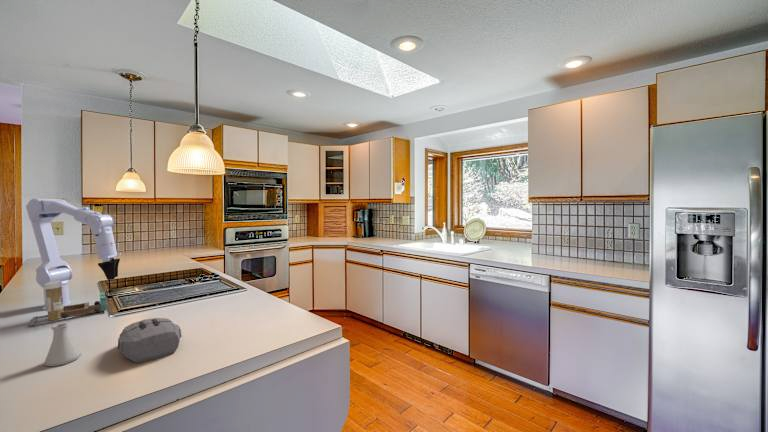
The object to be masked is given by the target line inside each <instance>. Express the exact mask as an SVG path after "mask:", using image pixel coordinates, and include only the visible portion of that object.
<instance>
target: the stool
mask: <svg viewBox="0 0 768 432" xmlns="http://www.w3.org/2000/svg"><path fill="white" fill-rule="evenodd" d="M63 310H64V312H60V317H61V318H60V319H66V318H72V317H77V316H83V315H88V314H93V313H99V312H101V311H104V312H105V311H107V301H106V292H100V293H99V301H98V300H97V301H95V302H94V303H93V304H92V305H90V302H82V303H76V304H70V306H64V308H63Z"/></svg>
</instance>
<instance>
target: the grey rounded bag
mask: <svg viewBox="0 0 768 432" xmlns="http://www.w3.org/2000/svg"><path fill="white" fill-rule="evenodd" d="M181 338H182V329H181V327H180V326H179V325H178V324H176V323H174V322H173V321H172V320H170V319H169V318H166V317H165V318H164V317H153V318H147V319H142V320H138V321H136V322H135V321H134V322H133V323H130V324H128V325H127V326H125V327H124V328H123V329H122V331H121V332H120V334H119V337H118V338H117V349H118V351H119V352H120V353H121V354H122V355H123V357H124V358H126V359H128V360H129V361H132V362H134V363H145V362H148V361H152V360H156V359H159V358H162V357H166V356H169V355H171V354H172V353H174V352H176V351H177V349H178V348H179V345H180V342H181Z"/></svg>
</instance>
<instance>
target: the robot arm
mask: <svg viewBox="0 0 768 432" xmlns="http://www.w3.org/2000/svg"><path fill="white" fill-rule="evenodd" d="M25 208H26V211H27V214H28V215H27V216H28V219H29V221H30V222H31V227H32V230H33V233H34V237H35V241H36V244H37V249H38V252H39V255H40V258H41V264H40V265H39V266H38V267H36V268H35V272H36V275H35V281H36V282H37V284H38V285H39V286H40V287H41V288H43V299H44V305H43V307H42V311H47V302H46V289H45V284H46V283H49V282H56V281H61V282H62V297H63V306H70V305H72V299H70V294H69V284H68V283H71V280H72V279H73V275H74V271H73V270H72V269H71V267H70V265H69V262H67V261H65V260H63V259H61V256H60V252H59V249H58V245H57V242H56V238H55V235H54V231H53V228H52V221H53V220H55V219H56V218H58V217H60V215H62V214H65V215H69V216H72V217H73V219H74V220H75V221H77V222H79V223H82V224H84V225H87V227H88V228H89V230H90V231H91V234H92V235H93V237H94V239H95V240H94V241H95V245H96V251H97V254H98V255H97V256H98V257H97V258H98V260H101V262H98V263H97V266H98V267H99V268H100V269H101V270H102V272H103V274H104V275H105V278H106V280H107V281H110V280H114V279H115V278H117V277H119V264H120V261H121V259H120V258H116V257H119V256H121V255H122V253H121V252H120V253H118V251H117V245H116V243H115V242H116V241H115V238H114V232H113V227H114V226H115V219H114V217H113V216H112V215H111V214H109V213H104V214H102V213H100V212H99V211H94V210H91V207H88V206H84V207H77V206H75V205H73V204H71V203H69V202H67V201H66V199H63V198H59V197H58V198H56V197H55V198H32V199H30V200H29V201H28V203H27V204H26V205H25Z"/></svg>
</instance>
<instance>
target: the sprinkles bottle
mask: <svg viewBox="0 0 768 432" xmlns="http://www.w3.org/2000/svg"><path fill="white" fill-rule="evenodd" d="M45 289H46V302H47V310H46V311H47V315H48V317H47V320H49V321H55V320H61V319H62V318H61V317H60V312H64V310H63V308H64V306H63V297H62V282H61V281H56V282H49V283H46V284H45Z"/></svg>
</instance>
